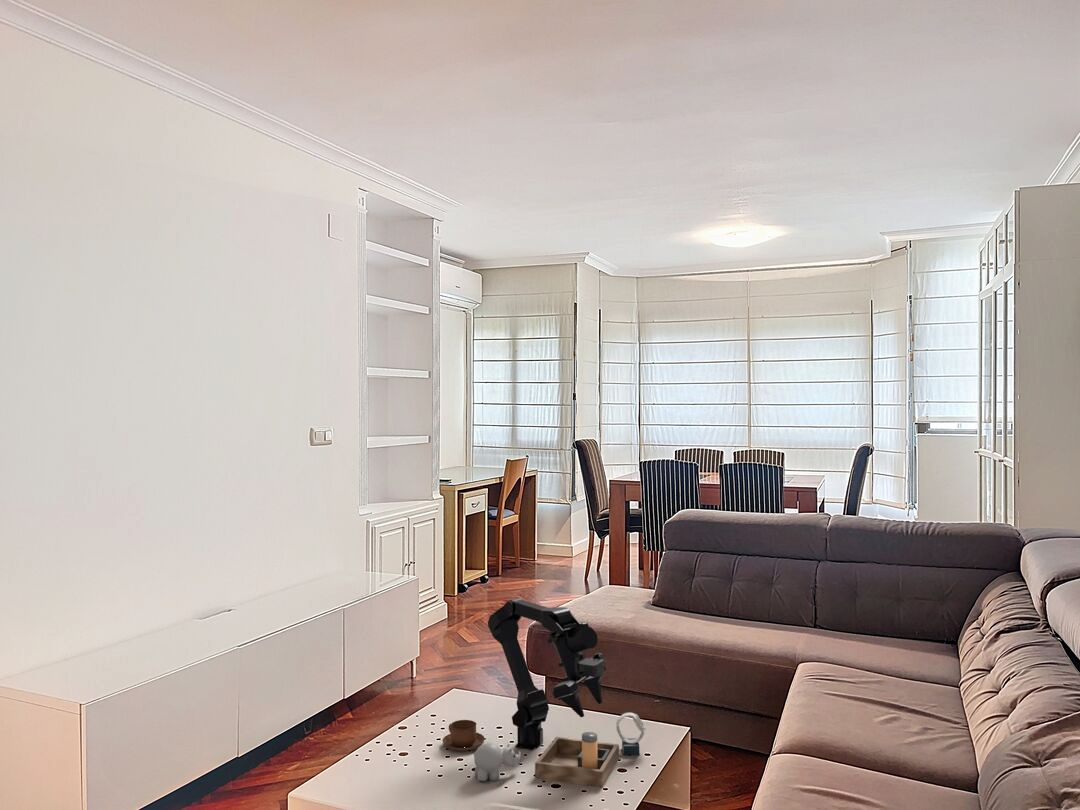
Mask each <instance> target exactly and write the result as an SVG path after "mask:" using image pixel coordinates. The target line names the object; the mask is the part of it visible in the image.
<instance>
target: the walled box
mask: <svg viewBox="0 0 1080 810" xmlns="http://www.w3.org/2000/svg"><path fill="white" fill-rule="evenodd" d="M597 754H598V769H591V768H583V767H582V739H577V738H569V737H560V736H555V737H554V739H553V740H552V741H551V743H550V744H549V745H547V748H545V750H544V751H543V752H542V754H541V755H540V756H538V758H537V760H536V761H535V762H534V779H539V780H546V781H555V782H561V783H567V784H575V785H581V786H582V785H583V786H590V787H597V788H603V787H604V786H605V784H606V782H607V781H608V779H609V777H610V776H611V774H612V772H613V770H614V769H615V767H616V765H617V763H618V761H619V760H620V745H619V744H618V743H611V742H610V743H609V742H602V741H597Z"/></svg>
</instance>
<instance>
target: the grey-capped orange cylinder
mask: <svg viewBox="0 0 1080 810" xmlns="http://www.w3.org/2000/svg"><path fill="white" fill-rule="evenodd" d="M581 740H582V767H583V768H591V769H598V754H597V742H598V733H596V732H594V731H587V732H586V731H585V732H583V733H582V734H581Z"/></svg>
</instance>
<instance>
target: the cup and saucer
mask: <svg viewBox="0 0 1080 810" xmlns="http://www.w3.org/2000/svg"><path fill="white" fill-rule="evenodd" d="M448 730H449V734H447V735H446V736H445V735H444V737H443V738H442V745H444V746H445V747H446V748H447V749H449V750H452V751H458V752H464V751H471V750H476V749H478V748H479V747H480V746H481V745H482V744H484V742H485V736H484V735H483V734H482V733H479V732H477V723H476V721H474V720H472V719H471V720H470V719H460V720H458V719H457V720H455V721H453V722H451V723H449V725H448ZM464 747H465V748H464Z"/></svg>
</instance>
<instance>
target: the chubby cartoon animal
mask: <svg viewBox="0 0 1080 810" xmlns="http://www.w3.org/2000/svg"><path fill="white" fill-rule="evenodd" d="M475 750H476V751H475V752H474V753H473V757H474V758H473V761H474V764H475V769H474V775H475V777H476V779H477V781H478V782H486V781H487V780H488V779H489V780H490V781H493V782H495V781H498V780H499V778H500V772H499V770H500V768H501V767H502V765H503V766H510V765H511V766H512V767H517V766H519V764H520V762H521V760H520V759H521V757H522V753H521V751H518V753H515V751H514V750H513V748H511V747H510V743H508V744H507V746H506V747H504V748H503V749H501V748H500V747H499V746H498V745H497V744H495V743H492V742H485V743H483V744H482V745H481V746H479V747H477V748H476V749H475Z"/></svg>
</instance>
